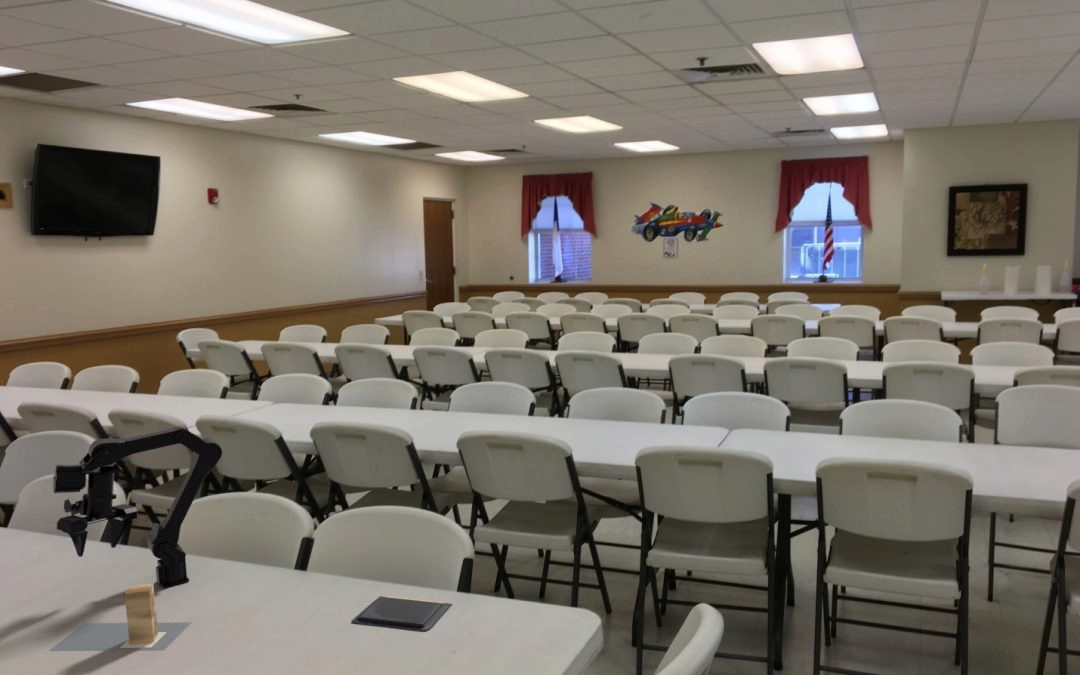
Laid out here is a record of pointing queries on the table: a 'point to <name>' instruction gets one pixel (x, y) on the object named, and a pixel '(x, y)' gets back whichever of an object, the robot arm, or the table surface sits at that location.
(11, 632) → the table surface
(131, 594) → the wooden block
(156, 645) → the rubber mat
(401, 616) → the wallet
